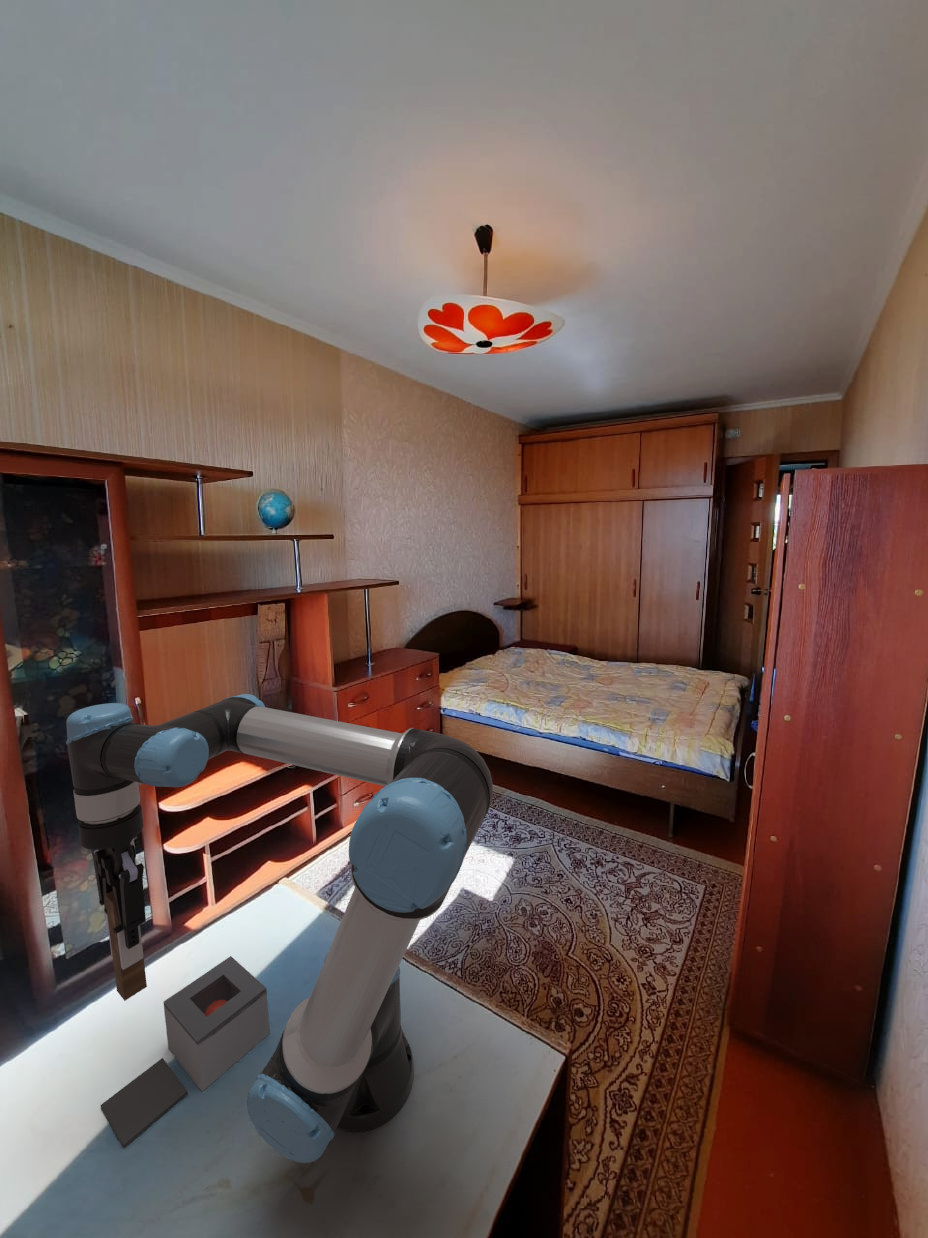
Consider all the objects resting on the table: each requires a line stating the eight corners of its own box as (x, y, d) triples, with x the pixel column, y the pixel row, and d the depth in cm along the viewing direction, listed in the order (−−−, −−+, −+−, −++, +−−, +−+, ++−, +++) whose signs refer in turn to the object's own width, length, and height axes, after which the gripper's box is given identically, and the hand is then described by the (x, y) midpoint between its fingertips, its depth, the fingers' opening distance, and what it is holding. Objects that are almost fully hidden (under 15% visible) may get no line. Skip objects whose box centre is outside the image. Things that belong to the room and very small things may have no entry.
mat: (187, 1094, 79) (187, 1091, 79) (123, 1149, 72) (123, 1145, 72) (162, 1060, 84) (162, 1057, 84) (100, 1108, 77) (100, 1105, 77)
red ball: (234, 1028, 88) (232, 1006, 87) (213, 1045, 85) (211, 1022, 84) (223, 1017, 90) (221, 996, 89) (203, 1033, 87) (201, 1011, 86)
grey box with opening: (269, 1033, 89) (266, 988, 88) (202, 1092, 79) (197, 1042, 78) (234, 998, 96) (230, 956, 95) (168, 1048, 86) (163, 1002, 85)
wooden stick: (146, 986, 76) (135, 891, 74) (124, 1001, 73) (112, 903, 71) (138, 977, 78) (127, 883, 75) (116, 990, 75) (104, 894, 73)
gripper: (162, 817, 70) (178, 966, 73) (118, 786, 79) (133, 919, 82) (100, 842, 64) (119, 1003, 67) (60, 805, 73) (79, 948, 77)
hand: (127, 956), depth 75 cm, fingers closed on wooden stick, 3 cm apart
